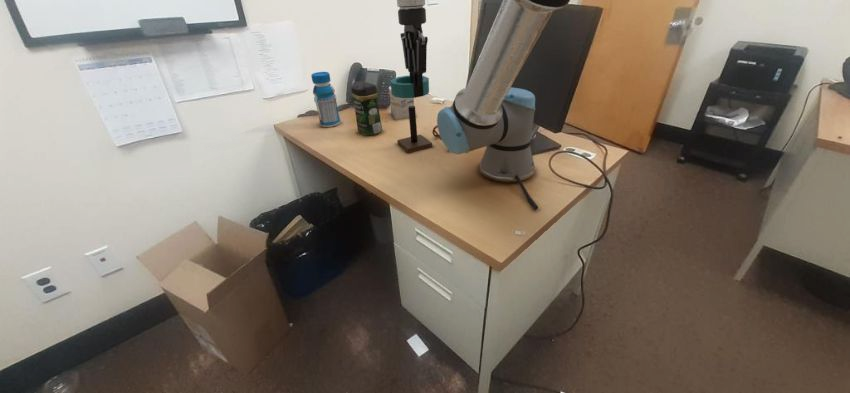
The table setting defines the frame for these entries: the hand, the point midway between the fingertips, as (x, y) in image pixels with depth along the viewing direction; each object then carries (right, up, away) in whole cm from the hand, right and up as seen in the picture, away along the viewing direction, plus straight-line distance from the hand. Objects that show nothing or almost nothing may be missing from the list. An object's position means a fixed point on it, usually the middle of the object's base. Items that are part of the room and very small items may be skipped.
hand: (417, 95), depth 106 cm
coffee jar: (-19, -6, +27) cm, 33 cm away
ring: (-2, +2, +4) cm, 5 cm away
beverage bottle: (-36, -1, +37) cm, 52 cm away
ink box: (-7, +3, +41) cm, 41 cm away
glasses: (+14, -12, +15) cm, 23 cm away
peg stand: (-1, -13, +14) cm, 19 cm away
